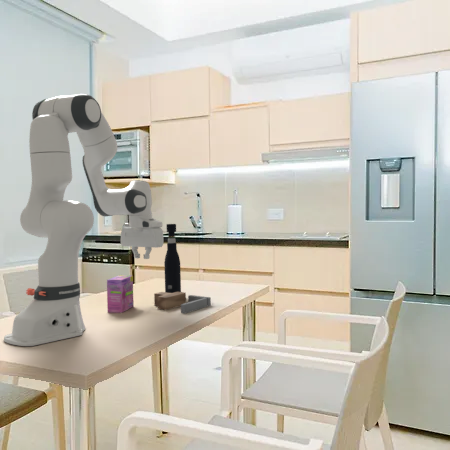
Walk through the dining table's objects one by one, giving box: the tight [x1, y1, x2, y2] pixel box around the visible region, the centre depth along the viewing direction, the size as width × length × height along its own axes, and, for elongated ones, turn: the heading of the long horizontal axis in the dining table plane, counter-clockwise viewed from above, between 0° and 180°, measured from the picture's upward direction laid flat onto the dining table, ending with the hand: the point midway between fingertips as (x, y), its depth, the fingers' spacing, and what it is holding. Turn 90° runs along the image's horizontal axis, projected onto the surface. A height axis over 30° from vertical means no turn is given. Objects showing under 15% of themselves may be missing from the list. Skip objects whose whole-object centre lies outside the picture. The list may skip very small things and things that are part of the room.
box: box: [106, 274, 135, 314], centre depth 163 cm, size 10×6×12 cm, turn 168°
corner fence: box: [180, 294, 212, 314], centre depth 163 cm, size 15×10×3 cm, turn 145°
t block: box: [153, 291, 187, 311], centre depth 168 cm, size 9×11×4 cm
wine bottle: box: [163, 223, 182, 293], centre depth 183 cm, size 6×6×30 cm
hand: (141, 258), depth 174 cm, fingers open, 4 cm apart
